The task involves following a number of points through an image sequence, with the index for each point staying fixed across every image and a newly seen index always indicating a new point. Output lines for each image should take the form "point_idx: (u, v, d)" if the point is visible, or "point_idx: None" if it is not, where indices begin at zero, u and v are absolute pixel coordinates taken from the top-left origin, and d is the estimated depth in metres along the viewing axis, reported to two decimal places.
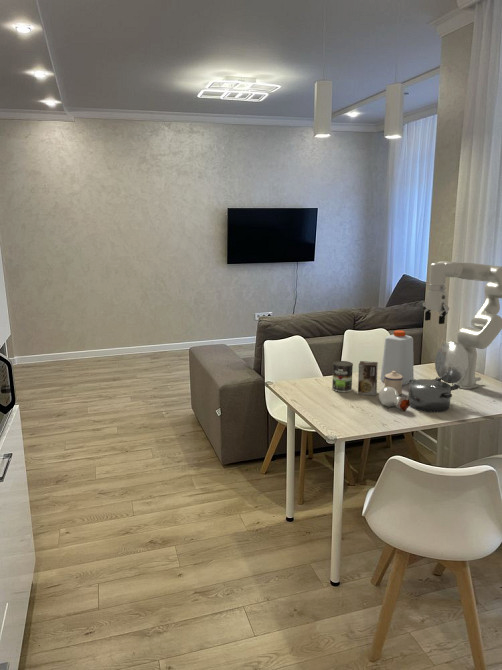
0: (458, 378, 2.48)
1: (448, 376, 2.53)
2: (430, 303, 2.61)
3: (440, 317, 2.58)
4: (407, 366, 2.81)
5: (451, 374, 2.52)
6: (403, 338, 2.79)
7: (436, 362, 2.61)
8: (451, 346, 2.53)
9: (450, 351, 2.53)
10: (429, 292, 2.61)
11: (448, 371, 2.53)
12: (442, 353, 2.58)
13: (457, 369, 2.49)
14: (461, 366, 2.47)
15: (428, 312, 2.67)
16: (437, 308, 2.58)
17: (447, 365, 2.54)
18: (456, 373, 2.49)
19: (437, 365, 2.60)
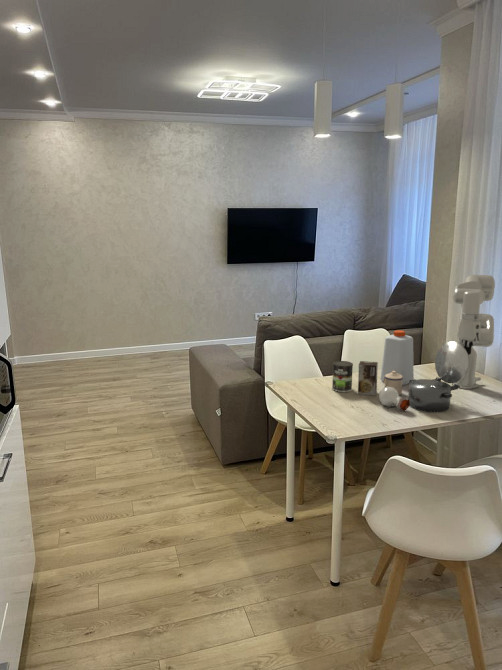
0: (458, 378, 2.48)
1: (448, 376, 2.53)
2: (463, 332, 2.54)
3: (466, 348, 2.54)
4: (407, 366, 2.81)
5: (451, 374, 2.52)
6: (403, 338, 2.79)
7: (436, 362, 2.61)
8: (451, 346, 2.53)
9: (450, 351, 2.53)
10: (462, 321, 2.54)
11: (448, 371, 2.53)
12: (442, 353, 2.58)
13: (457, 369, 2.49)
14: (461, 366, 2.47)
15: None
16: (471, 338, 2.50)
17: (447, 365, 2.54)
18: (456, 373, 2.49)
19: (437, 365, 2.60)
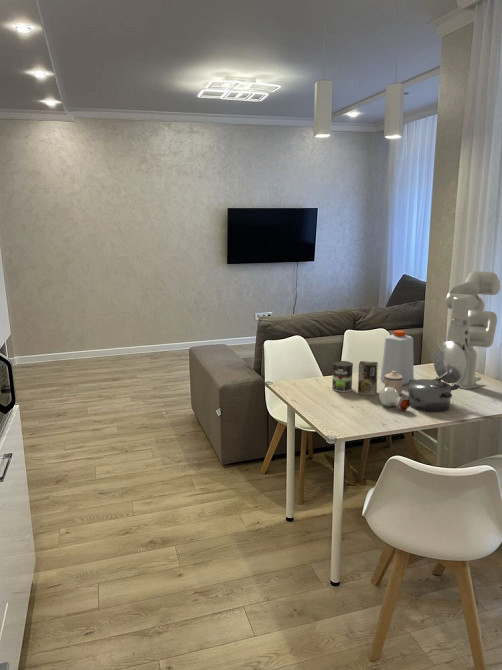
0: (457, 378, 2.47)
1: (448, 376, 2.53)
2: (452, 338, 2.51)
3: None
4: (407, 366, 2.81)
5: (450, 374, 2.51)
6: (403, 338, 2.79)
7: (435, 362, 2.61)
8: (448, 346, 2.52)
9: (448, 351, 2.52)
10: (451, 327, 2.51)
11: (447, 371, 2.53)
12: (440, 353, 2.57)
13: (456, 369, 2.48)
14: (459, 366, 2.46)
15: None
16: (460, 344, 2.48)
17: (445, 365, 2.54)
18: (455, 373, 2.49)
19: (436, 365, 2.60)
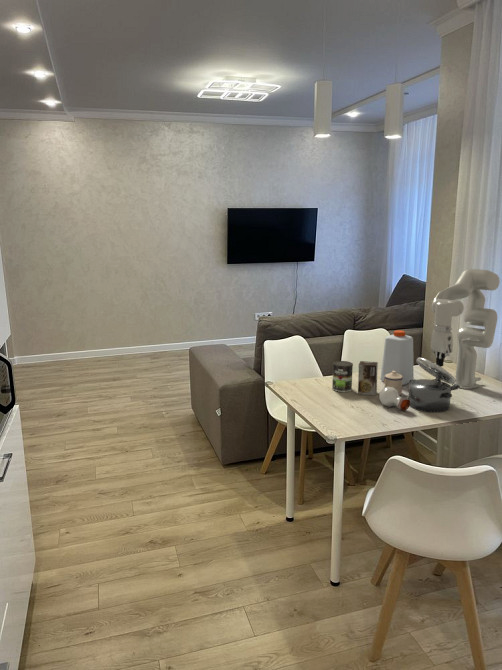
0: (452, 382, 2.47)
1: (444, 379, 2.52)
2: (435, 344, 2.48)
3: (439, 360, 2.48)
4: (407, 366, 2.81)
5: (444, 378, 2.50)
6: (403, 338, 2.79)
7: (424, 369, 2.59)
8: (423, 362, 2.48)
9: (427, 365, 2.49)
10: (434, 332, 2.48)
11: (439, 376, 2.52)
12: (422, 365, 2.54)
13: (445, 376, 2.46)
14: (445, 375, 2.44)
15: None
16: (443, 350, 2.44)
17: (434, 373, 2.52)
18: (447, 379, 2.47)
19: (427, 371, 2.58)
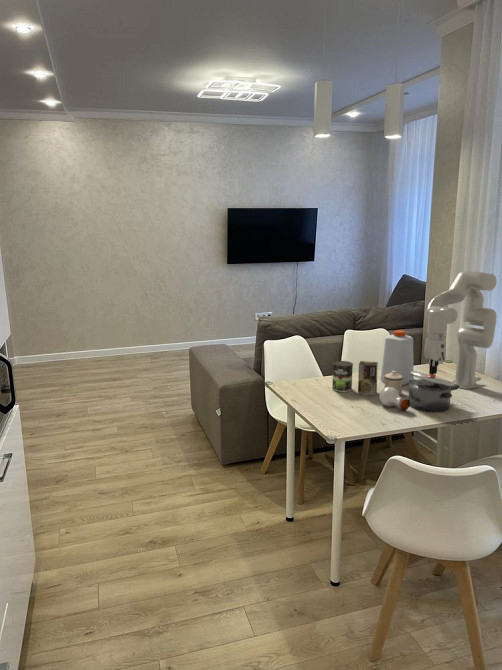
0: None
1: None
2: (428, 351, 2.47)
3: (432, 367, 2.48)
4: (407, 366, 2.81)
5: None
6: (403, 338, 2.79)
7: None
8: None
9: None
10: (427, 340, 2.47)
11: None
12: None
13: None
14: None
15: (433, 363, 2.49)
16: (436, 357, 2.44)
17: None
18: None
19: None
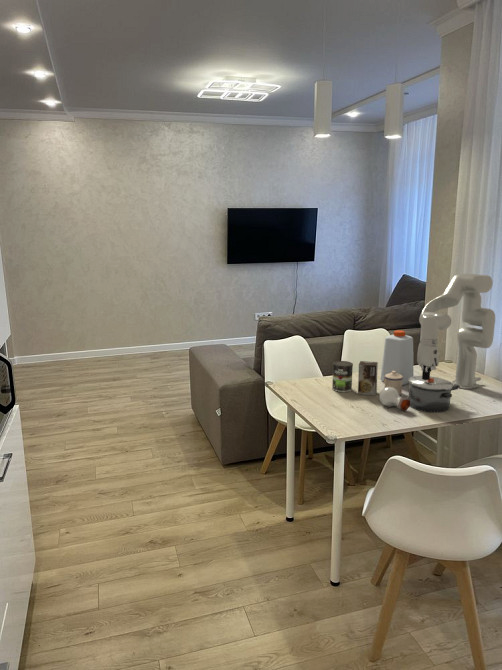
0: None
1: None
2: (421, 357, 2.46)
3: (425, 373, 2.46)
4: (407, 366, 2.81)
5: None
6: (403, 338, 2.79)
7: None
8: None
9: None
10: (420, 346, 2.46)
11: None
12: None
13: None
14: None
15: (426, 369, 2.47)
16: (429, 363, 2.42)
17: None
18: None
19: None
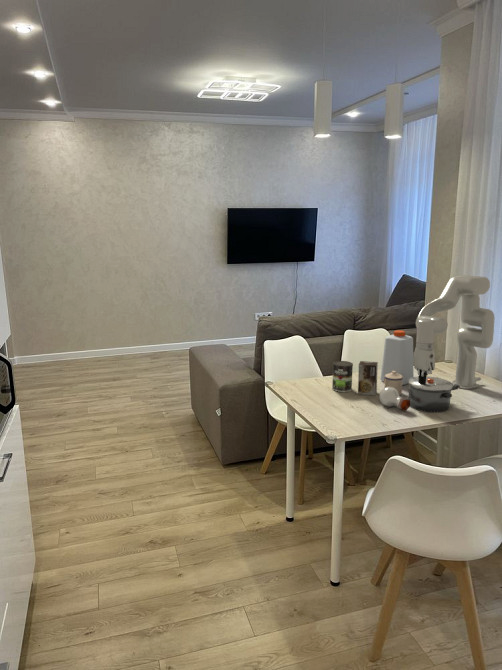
0: None
1: None
2: (417, 361, 2.46)
3: (421, 377, 2.46)
4: (407, 366, 2.81)
5: None
6: (403, 338, 2.79)
7: None
8: None
9: None
10: (416, 350, 2.46)
11: None
12: None
13: None
14: None
15: (422, 373, 2.47)
16: (425, 368, 2.42)
17: None
18: None
19: None
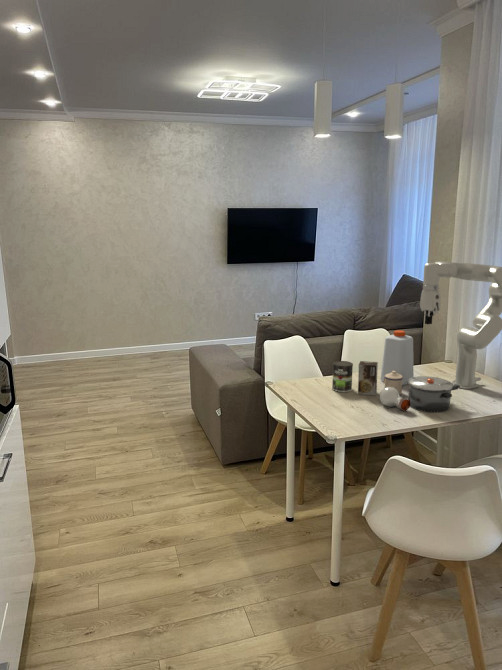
0: None
1: None
2: (424, 303, 2.65)
3: (427, 317, 2.65)
4: (407, 366, 2.81)
5: None
6: (403, 338, 2.79)
7: None
8: None
9: None
10: (423, 292, 2.65)
11: None
12: None
13: None
14: None
15: None
16: (431, 308, 2.61)
17: None
18: None
19: None
